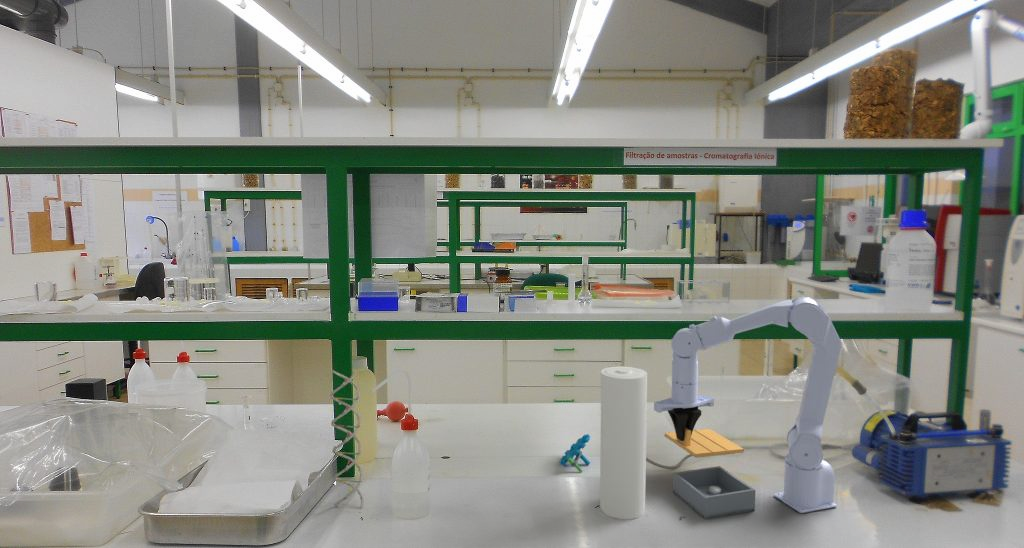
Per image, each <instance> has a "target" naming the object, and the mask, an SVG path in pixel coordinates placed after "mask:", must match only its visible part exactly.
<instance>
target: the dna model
mask: <svg viewBox="0 0 1024 548" xmlns="http://www.w3.org/2000/svg"><path fill="white" fill-rule="evenodd" d="M331 372H332V373H333V374H335V375H337V376H338V377H339V378H343V379H344V381H343V382H342V384H340V386H338V387H337V388H336V389H334V390H333V391H331V393H330V395H329V397H330V398H331V400H334V401H335V402H337V403H338V405H339V406H340V405H343V406H345V409H344V410H343V412H342V413H340V414H339V415H338V416H337V417H336V418H333V419H332V421H331V423H330V424H331V426H332V427H333V428H336V429H338V430H340V431H342V432H344V433H346V437H345V439H344V440H343V441H341V442H340V443H339V444H337V445H335V446H333V448H332V451H331V452H332V453H333V454H334V455H337V456H338V457H342V458H345V459H346V460H348V462H347V465H346V466H345V468H344V469H342V470H341V471H338V472H337V473H335V475H334V476H333V478H332V479H333V480H334V481H336V482H339V483H341V485H346V486H348V487H350V488H349V489H348V492H347V494H346V495H345V496H344V497H342V498H341V499H339V500H338V501H336V502H335V503H334V507H337V506H338V507H339V504H340V503H342V502H344V501H346V500H347V499H348V498H349V497H351V496H352V495H353V494H354V493H355V492H357V494H358V495H359V497H360V499H359V500H360V509H363V508H364V497H363V494H362V492H361V491H360V490H359V487H360V486H361V483H362V482H363V481H362V480H363V478H364V477H363V475H364V474H363V470H362V469H363V468H362V467H361V466H360V464H359V462H357V461H358V459H359V458H360V456H361V454H362V447H363V446H362V443H361V441H360V439H359V438H358V437H357V435H356V434H357V433H358V430H360V427H361V417H360V413H359V412H358V411H357V410H356V409H355V407H356V405H357V404H358V402H359V400H360V396H361V394H360V388H359V386H357V384H356V383H355V382H354V381H353V379H354V377H355V376H356V375H357V371H354V373H352V374H351V376H350V377H348V376H345V375H344V374H342V373H340V372H338V371H335V370H334V369H332V370H331ZM348 384H351V385H352V386H353V387H354V388H355V391H356V398H347V397H334V394H335V393H337V392H338V391H339V390H341V389H342V388H344V387H345V386H346V385H348ZM342 400H346V401H347V400H348V401H354V402H353V403H352V404H351V405H350V404H348V403H347V402H345V401H342ZM349 412H352V413H354V414H355V415H356V417H357V425H346V428H355V429H354V431H353V432H351V429H350V430H348V429H346V428H345V425H344V424H343V425H342V424H336V422H337V421H339V419H341V418H342V417H344V416H345V415H347V414H348V413H349ZM352 438H353V439H354V440H355V441H356V443H357V444H358V451H357V452H345V451H337V449H339V448H340V447H341V446H343V445H345V444H347V442H349V441H350V440H351V439H352ZM348 455H354V456H355V455H356V456H355V458H354V459H353V458H352V457H350V456H348ZM350 462H351V463H350ZM354 465H355V467H357V469H358V471H359V480H349V479H341V478H338V477H339V476H340V475H343V473H345V472H348V470H349V469H351V468H352V467H353V466H354ZM352 483H356V485H355V484H352Z"/></svg>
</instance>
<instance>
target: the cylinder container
mask: <svg viewBox="0 0 1024 548" xmlns="http://www.w3.org/2000/svg"><path fill="white" fill-rule="evenodd" d="M647 405H648V372H647V371H646V370H644V369H642V368H638V367H633V366H622V365H621V366H618V365H617V366H610V367H604V368H602V369H601V371H600V451H599V453H600V456H599V457H600V467H599V468H600V470H599V471H600V479H599V482H600V483H599V489H600V490H599V491H600V492H599V508H600V510H601V512H602V513H603V514H605V515H607V516H608V517H610V518H614V519H616V520H617V519H618V520H634V518H635V519H638V518H640V517H642V516H643V515H645V512H646V479H647V478H646V476H647V474H646V472H647V470H646V469H647V468H646V467H647V422H648V421H647V420H648V419H647V417H648V416H647V414H648V413H647V412H648V410H647V409H648V407H647Z"/></svg>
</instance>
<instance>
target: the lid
mask: <svg viewBox="0 0 1024 548" xmlns="http://www.w3.org/2000/svg"><path fill="white" fill-rule="evenodd" d="M663 436H664V437H665V438H666V439H668V440H669V441H671V442H673V443H674V444H675V445H677V446H678V447H679V448H681V449H683V450H684V451H685V452H687V453H688V454H689V455H692V456H693V457H694V458H705V457H714V456H722V455H723V456H725V455H726V456H727V455H733V454H742V453H745V452H744V450H745V448H743V447H741V446H740V445H738V444H736V443H735V442H733V441H731V440H729V439H728V438H726V437H724V436H723V435H721V434H719V433H718V432H715V431H714V430H712V429H710V428H707V429H706V428H704V429H703V428H702V429H693V432H692V435H691V431H690V430H689V429H687V428H686V427H685V438H684V441H681V440H679V439H678V438H677V437H676V432H675V431H670V432H664V435H663Z"/></svg>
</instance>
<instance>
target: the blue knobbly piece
mask: <svg viewBox="0 0 1024 548" xmlns="http://www.w3.org/2000/svg"><path fill="white" fill-rule="evenodd" d="M590 438H591V436H590V435H589V433H587V434H583V436H582V437H579V438H578V439H577V440H576V442H575V443H572V444H571V445H570V449H569V450H568V449H566V451H565V452H564V455H563V456H562V457H560V461H559V464H560V465H561V466H563V465H566V464H567V463H569V464H570V466H572V467H575V468H576V469H577V470H578V472H579V473H583V471H584V470H583V469H582V468H581V467H580V466H579V465H578V461H579V460H580V459H581V461H582V462H584V464H585V465H586V466H589V465H590V464H591V462H590V461H589V459H588V458H586V457H585V455H584V454H583V451H582V450H583V449H584V448H585V447H586V446H587V443H588V442H589V441H590V440H591V439H590ZM581 449H582V450H581ZM574 457H575V458H574Z"/></svg>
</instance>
